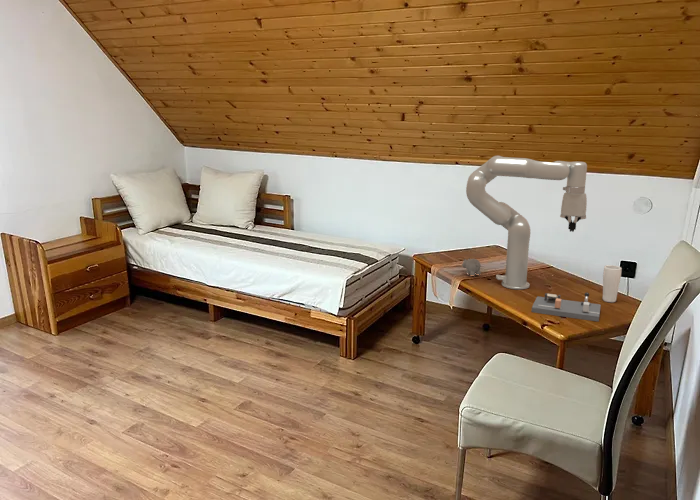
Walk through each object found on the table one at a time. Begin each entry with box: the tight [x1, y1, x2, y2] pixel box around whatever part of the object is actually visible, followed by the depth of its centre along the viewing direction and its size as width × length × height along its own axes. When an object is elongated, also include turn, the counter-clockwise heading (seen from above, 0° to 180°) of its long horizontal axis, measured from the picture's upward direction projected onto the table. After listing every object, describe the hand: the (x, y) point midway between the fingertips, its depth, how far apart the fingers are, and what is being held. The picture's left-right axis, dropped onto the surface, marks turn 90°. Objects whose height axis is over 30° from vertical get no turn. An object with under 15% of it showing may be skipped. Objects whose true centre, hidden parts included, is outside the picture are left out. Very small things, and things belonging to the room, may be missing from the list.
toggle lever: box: [584, 292, 590, 302], centre depth 221 cm, size 2×2×5 cm
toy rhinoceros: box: [461, 257, 482, 276], centre depth 271 cm, size 7×12×8 cm, turn 22°
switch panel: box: [531, 292, 602, 322], centre depth 220 cm, size 25×15×5 cm, turn 64°
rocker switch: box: [547, 293, 558, 299], centre depth 226 cm, size 4×7×1 cm, turn 154°
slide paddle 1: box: [555, 298, 562, 308], centre depth 218 cm, size 2×3×3 cm, turn 154°
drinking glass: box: [602, 264, 623, 303], centre depth 230 cm, size 7×7×15 cm
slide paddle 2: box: [583, 301, 589, 312], centre depth 213 cm, size 2×3×3 cm, turn 154°
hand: (571, 231), depth 241 cm, fingers closed
